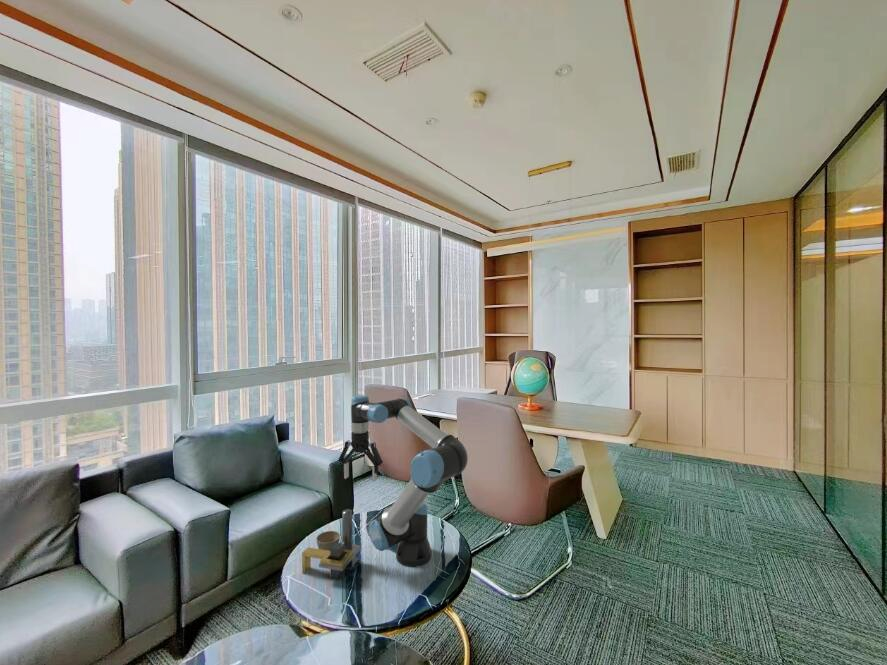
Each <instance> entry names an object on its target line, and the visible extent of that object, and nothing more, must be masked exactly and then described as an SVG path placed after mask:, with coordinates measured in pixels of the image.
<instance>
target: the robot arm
mask: <svg viewBox="0 0 887 665" xmlns="http://www.w3.org/2000/svg"><path fill="white" fill-rule="evenodd" d="M369 399H370V398H369V396H368V395H365V394H364V395H363V394H362V395H354V396H352V397H351V404H350V416H351V419H350V420H351V423H350V424H351V426H350V427H351V434H350V435H351V436H350V437H351V438H350V439H351V441H350V440H345V441H344V447H343V449H342V451H341V452H340V455H339V458H338V462H339V463H342V464H341V465H342V471H343V477H344V478H343V479H345V480H346V479H347V478H349V476H350V474H349V473H350V471H349V470H350V469H349V467H350V465H349V461H348V460H350V459H351V457H352V455H354V453H360V454H364V455H366V457H367V458H368V459H369V461H370V462H371V463H372V464H373V466H372V467H371V468H372V470H371V471H372V472H371V473H372V474H371V475H372V476H371V477H372V479H371V480H372V483H374V482H376V481H377V478H378V477H377V474H378V473H379V466H382V464H383V460H382V457H381V454H380V453H379V450H378V448H377V444H376V443H377V442H374V441H373V442H370V441H369V440H370V432H369V430H370V422H372V423H374V424H382V423H384V422H385V421H386V420H388V419H392V418H395V419H396V420H398V421H399V422H400V423H401V424H403V425H404V426H405V427H406V428H407V429H409V431H411V432H412V433H413V434H415V435H416V436H417V437H418V438H420V439H421V440H422V441H423V442H425V443H426V444H427V445H428V446H429V447H431V449H426V450H422V451H421V452H419V453H417V454H416V455H415V456H414V457H413V458H412V461H411V463H410V468H411V469H410V470H409V471H410V472H409V473H410V476H411V478H410V480H409V481H408V482H407V484H406V485H405V487H404V489H403V490H402V492H400V494H399V495H398V497H397V499H396V500H395V501H394V502H393V504H392V506H389V507H387V508H385V509H384V511H383V512H382V513H381V515H380V516H379V517H377V518H376V519H373V520H372V521H371V522H370V523H369V524H368V534H369V538H370V541H371V543H372V545H373V547H374V548H375V549H376V550H377V551H378V552H383V551H384V552H385V551H386V550H389V549H390V548H391V547H393V546H396V545H397V547H396V552H395V559H396V561H397V562H398V564H400V565H402V566H405V567H412V568H413V567H419V566H420V567H421V566H423V565H425V564H427V563H429V561H430V560H431V558H432V547H431V545H430V541H429V539H428V538H429V537H428V508H427V504H426V503H425V502H424V501H425V500H426V499H427V497H428V496H429V495H430V494H433V493H436V492H438V490H439V489H440V487H441V486H442V485H443V484H444V483H445V482H446V481H447V480H449V479H451V478H454V477H456V476H459V475H460V474H462V473H463V471H464V470H465V469H466V467H467V464H468V452H467V449H466V447H465V446H464V444H463V443H462V442H461V441H460V440H459V439H458V438H457V437H456V436H454V435H453V434H450V433H449V434H447V433H446V432H445V431H443V430H442V429H440V428H439V427H437V426H436V424H433V423H432V422H431V421H429V420H428V419H427V418H425V417H424V416H423V415H422V414H420V413H419V412H418V411H416V410H415V409H413V408H412V403H411V402H410V400H409V399H407V398H404V397H403V398H397V399H391V400H386V401H385V400H384V401H379V402H371V401H370V400H369ZM350 446H351V447H352V448H351V450H350V451H349V448H350ZM348 451H349V452H348ZM347 452H348V453H347Z"/></svg>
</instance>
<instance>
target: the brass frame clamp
mask: <svg viewBox="0 0 887 665" xmlns="http://www.w3.org/2000/svg"><path fill="white" fill-rule="evenodd" d="M341 514H342V515H341V520H342V521H341V525H342V526H341V528H342V530H341V534H342V535H341V537H342V542H341V541H339V543H342V544H345V556H344V557H343V558H342V560H341V561H337V560H331V559H330V551H327V550H321V549H319V548H314V547H309V546H308V547H307V548H305V549H304V550H303V551H302V552H301V566H302V567H301V568H302V569H301V570H302V571H301V573H302V574H303V575H304V574H306V573H307V572H309V570H310V569H311V568H312V567H311V566H312V565H311V564H312V562H311V561H312V560H311V558H312V559H313V558H314V559H318V560H320V562H319V564H318V568H323V569H329V570H330V569H333V570H338V571H343V570H344V569H345V570H347V571H352V570H353V568H355V566H356V564H358V562H359V561H360V557H356V555H357V554H358V553H359V552H360V550H361V549H362V544H359V545H358V544H353V510H352V509H351V508H346V509H343V510H342V512H341Z"/></svg>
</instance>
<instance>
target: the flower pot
mask: <svg viewBox="0 0 887 665" xmlns="http://www.w3.org/2000/svg"><path fill="white" fill-rule="evenodd" d="M340 540H341V533H340V532H338V531H337V530H328V531H322V532H321V533H319V534H318V535H317V536H316V538H315V541H316V546H317V549H321V550H327V551H330V548H331V547H332V546H333V545H334V544H335V543H339V542H340Z"/></svg>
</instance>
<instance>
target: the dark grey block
mask: <svg viewBox="0 0 887 665" xmlns="http://www.w3.org/2000/svg"><path fill="white" fill-rule="evenodd" d="M344 556H345V544H342V542H341V543H335V544H334V545H333V546H332V547H331V548H330V559H331V560H337V561H341V560H342V558H343V557H344ZM329 570H330V572H329V573H330V574H329V576H330V579H332V580H336V581H340V580H341V579H342V578H343V577H344V576H345V574H346V572H345V570H346V569H344V570H343V571H338V570H333V569H329Z"/></svg>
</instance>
